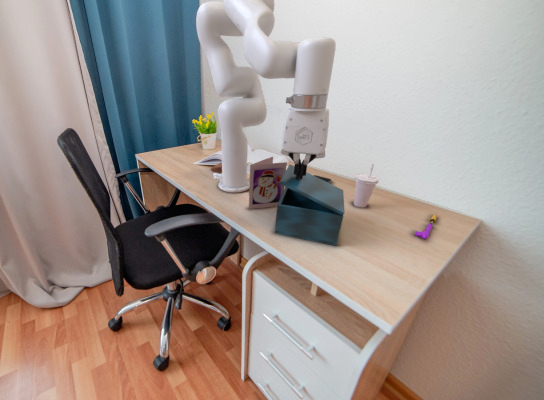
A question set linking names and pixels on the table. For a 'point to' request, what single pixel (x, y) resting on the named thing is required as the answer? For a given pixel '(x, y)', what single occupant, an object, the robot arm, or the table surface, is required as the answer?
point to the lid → (315, 190)
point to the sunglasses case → (217, 168)
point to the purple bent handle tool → (427, 231)
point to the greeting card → (266, 183)
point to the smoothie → (364, 188)
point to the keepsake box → (306, 219)
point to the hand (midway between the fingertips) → (299, 177)
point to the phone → (323, 178)
